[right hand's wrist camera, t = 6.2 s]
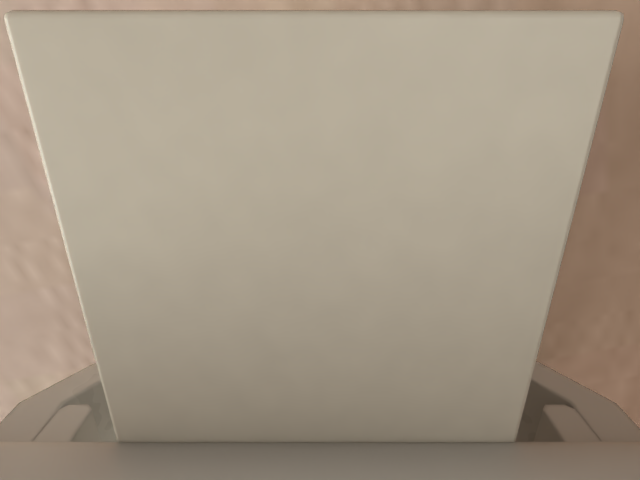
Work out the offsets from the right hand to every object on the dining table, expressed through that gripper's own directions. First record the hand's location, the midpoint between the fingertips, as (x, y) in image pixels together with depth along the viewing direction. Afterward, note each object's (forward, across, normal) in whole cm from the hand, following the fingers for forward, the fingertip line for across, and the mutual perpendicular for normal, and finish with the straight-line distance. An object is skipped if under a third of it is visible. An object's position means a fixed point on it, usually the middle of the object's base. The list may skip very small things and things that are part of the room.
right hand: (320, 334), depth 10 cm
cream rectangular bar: (+3, 0, -20) cm, 20 cm away
